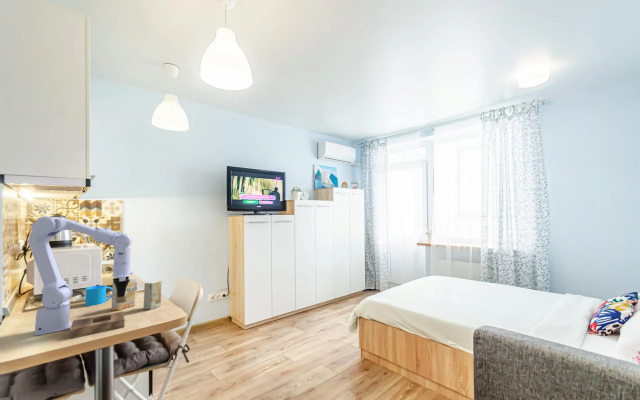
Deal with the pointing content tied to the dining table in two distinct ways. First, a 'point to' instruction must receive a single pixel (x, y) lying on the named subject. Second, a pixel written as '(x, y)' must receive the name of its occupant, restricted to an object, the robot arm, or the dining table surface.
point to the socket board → (97, 324)
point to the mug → (96, 295)
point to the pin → (121, 298)
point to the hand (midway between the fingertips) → (120, 295)
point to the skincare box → (152, 294)
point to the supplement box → (129, 296)
